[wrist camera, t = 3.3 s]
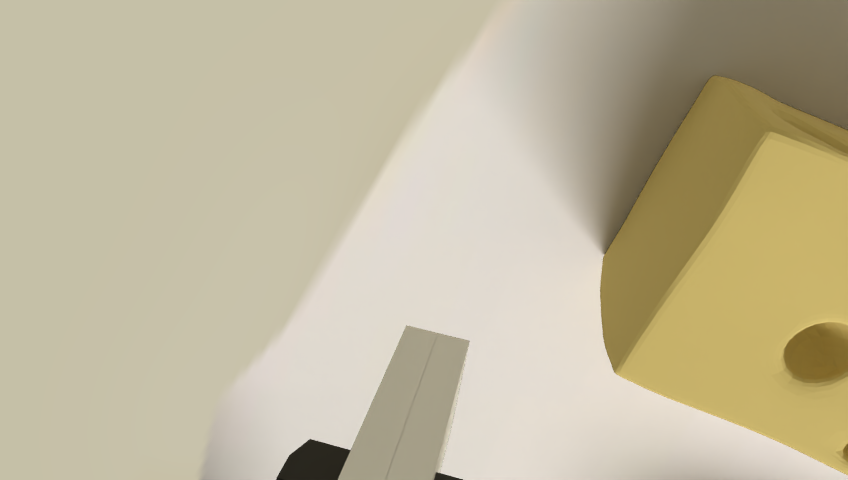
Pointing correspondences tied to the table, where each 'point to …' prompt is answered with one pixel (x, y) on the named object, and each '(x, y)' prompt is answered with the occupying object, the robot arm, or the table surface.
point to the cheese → (740, 272)
